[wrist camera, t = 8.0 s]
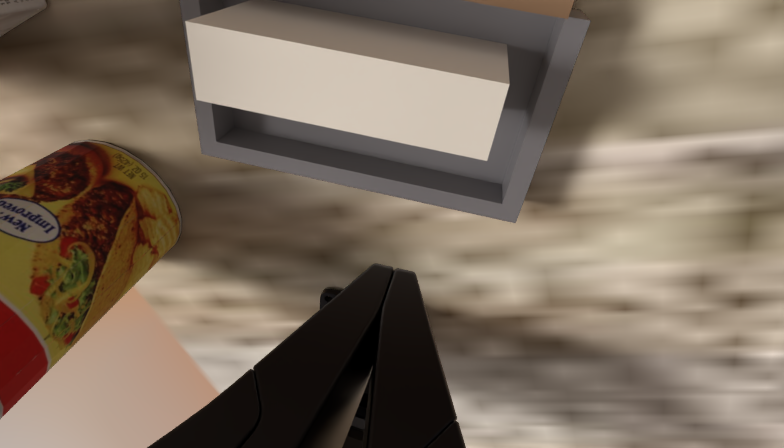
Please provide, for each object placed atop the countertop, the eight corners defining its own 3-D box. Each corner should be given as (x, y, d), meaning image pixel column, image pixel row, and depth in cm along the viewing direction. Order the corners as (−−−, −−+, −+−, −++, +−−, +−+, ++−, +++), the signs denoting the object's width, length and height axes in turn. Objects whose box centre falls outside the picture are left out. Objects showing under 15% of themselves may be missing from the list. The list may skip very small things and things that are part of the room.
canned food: (121, 121, 22) (-162, 273, 13) (207, 240, 26) (37, 427, 17) (29, 160, 25) (-259, 307, 16) (118, 262, 29) (-71, 432, 19)
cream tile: (506, 44, 16) (489, 107, 18) (258, -3, 17) (261, 61, 19) (509, 84, 12) (486, 161, 14) (185, 21, 13) (196, 99, 15)
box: (514, 199, 20) (515, 223, 19) (223, 136, 22) (201, 154, 20) (581, 10, 16) (590, 20, 14) (202, -57, 17) (171, -54, 15)
